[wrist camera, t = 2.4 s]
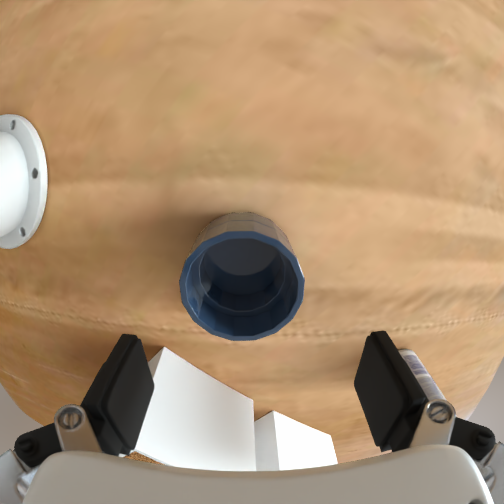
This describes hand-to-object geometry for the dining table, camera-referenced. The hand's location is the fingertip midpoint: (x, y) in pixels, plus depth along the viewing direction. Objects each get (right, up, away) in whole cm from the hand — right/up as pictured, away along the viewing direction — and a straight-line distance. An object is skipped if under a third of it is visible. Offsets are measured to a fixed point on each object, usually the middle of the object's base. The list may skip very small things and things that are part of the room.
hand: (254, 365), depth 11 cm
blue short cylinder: (-1, +4, +10) cm, 11 cm away
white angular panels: (-3, -16, +18) cm, 24 cm away
